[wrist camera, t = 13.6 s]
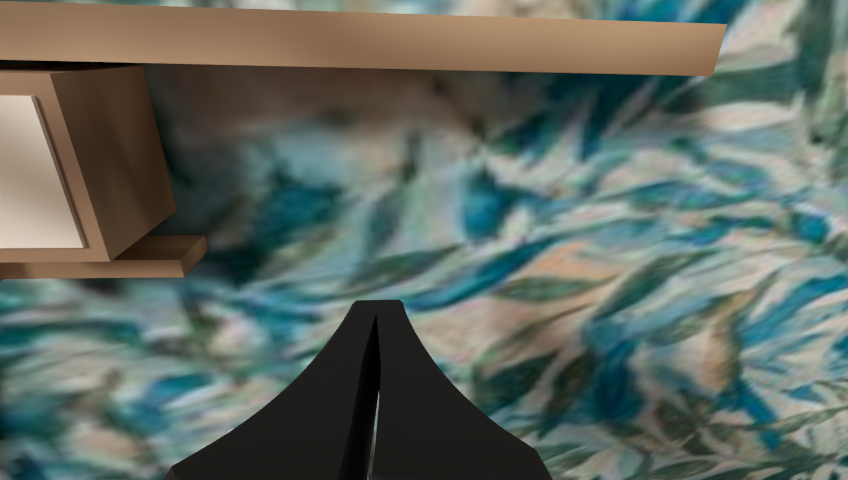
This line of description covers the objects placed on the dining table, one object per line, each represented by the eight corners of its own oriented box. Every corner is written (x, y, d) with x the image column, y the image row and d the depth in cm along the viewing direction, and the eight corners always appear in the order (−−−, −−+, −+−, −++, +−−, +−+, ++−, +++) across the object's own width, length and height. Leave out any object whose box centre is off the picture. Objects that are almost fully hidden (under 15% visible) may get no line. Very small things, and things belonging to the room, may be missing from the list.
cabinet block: (177, 209, 19) (107, 263, 14) (84, 209, 19) (-19, 264, 14) (143, 65, 17) (45, 74, 12) (35, 63, 16) (-109, 70, 12)
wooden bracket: (602, 248, 21) (649, 294, 17) (15, 251, 19) (-82, 304, 15) (651, 28, 17) (727, 24, 13) (-89, 5, 15) (-256, -8, 11)
